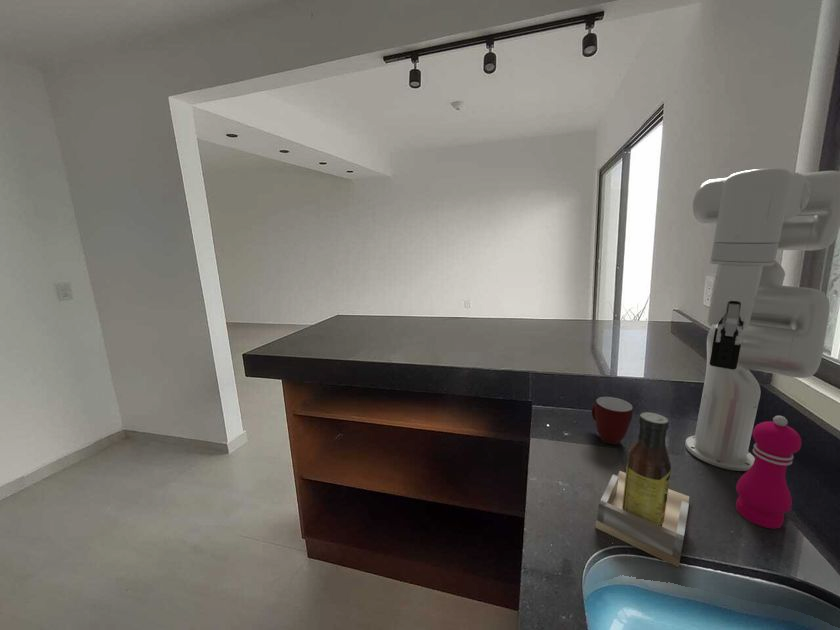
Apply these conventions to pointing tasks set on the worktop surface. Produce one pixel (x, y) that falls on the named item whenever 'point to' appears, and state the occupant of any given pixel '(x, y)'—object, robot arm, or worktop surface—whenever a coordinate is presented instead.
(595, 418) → the mug
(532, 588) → the worktop surface
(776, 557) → the worktop surface
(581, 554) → the worktop surface
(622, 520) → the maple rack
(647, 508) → the sauce bottle
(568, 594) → the worktop surface
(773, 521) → the pepper mill
